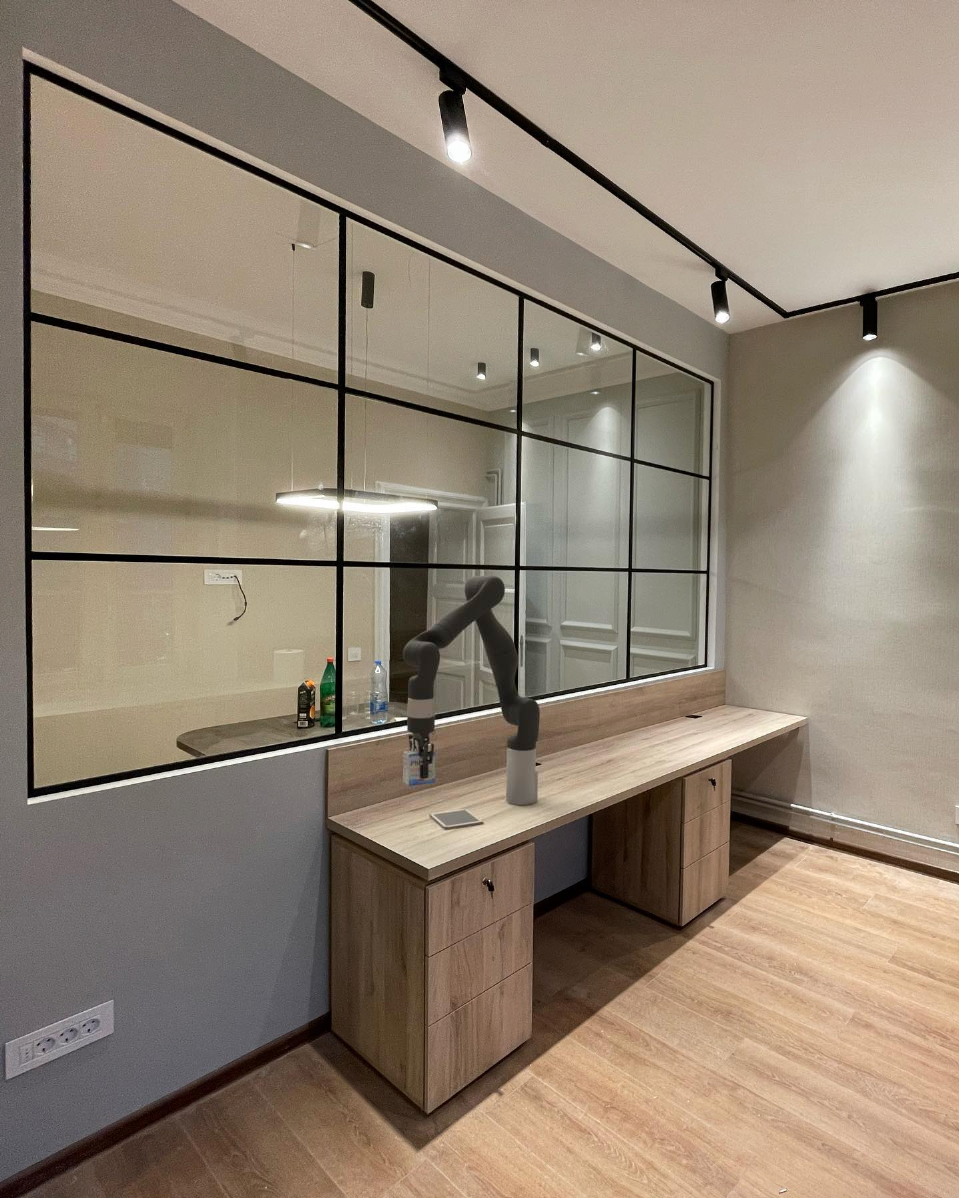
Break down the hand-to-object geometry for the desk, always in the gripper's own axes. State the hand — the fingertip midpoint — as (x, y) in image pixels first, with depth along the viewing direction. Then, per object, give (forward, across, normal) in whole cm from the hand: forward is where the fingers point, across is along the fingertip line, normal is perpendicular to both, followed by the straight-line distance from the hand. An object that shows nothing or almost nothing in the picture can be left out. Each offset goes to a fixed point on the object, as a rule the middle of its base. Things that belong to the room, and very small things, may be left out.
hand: (420, 775), depth 187 cm
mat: (+17, +7, -14) cm, 23 cm away
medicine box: (+2, 0, 0) cm, 2 cm away
